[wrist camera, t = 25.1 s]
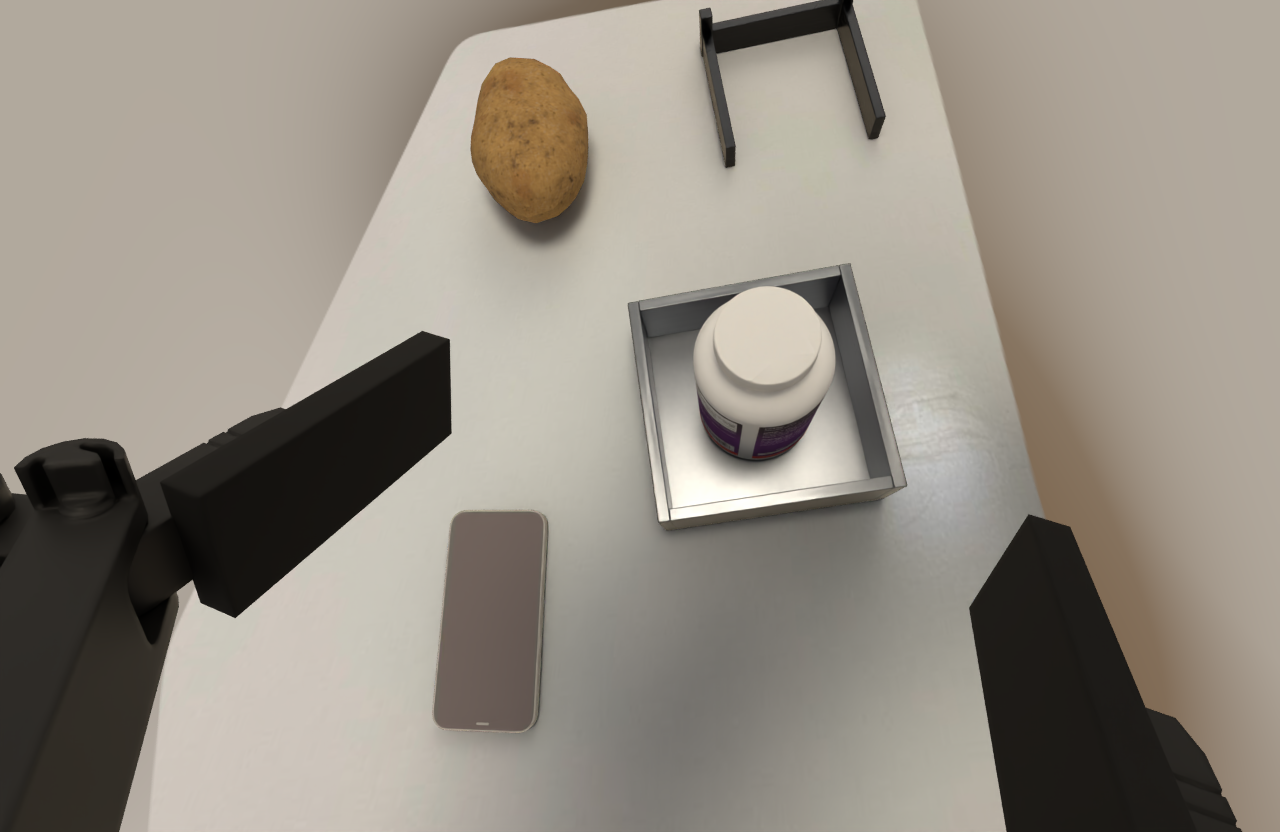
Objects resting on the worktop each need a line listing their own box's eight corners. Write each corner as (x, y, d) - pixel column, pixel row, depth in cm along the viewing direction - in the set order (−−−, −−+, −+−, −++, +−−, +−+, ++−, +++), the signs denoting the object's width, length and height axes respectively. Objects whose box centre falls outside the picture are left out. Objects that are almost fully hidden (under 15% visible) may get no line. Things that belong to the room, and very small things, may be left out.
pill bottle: (816, 366, 46) (858, 272, 32) (802, 471, 44) (840, 419, 30) (708, 351, 47) (704, 254, 33) (690, 452, 45) (677, 394, 32)
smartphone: (546, 509, 46) (534, 733, 41) (549, 511, 46) (538, 730, 42) (450, 510, 46) (429, 729, 42) (455, 511, 47) (435, 726, 43)
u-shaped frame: (844, 18, 55) (854, -25, 51) (879, 137, 51) (892, 101, 48) (700, 48, 56) (698, 9, 52) (724, 168, 52) (724, 135, 49)
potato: (496, 259, 53) (458, 204, 45) (487, 124, 57) (450, 52, 49) (607, 239, 52) (588, 179, 44) (590, 103, 56) (570, 27, 48)
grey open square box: (834, 301, 48) (850, 262, 42) (883, 499, 44) (907, 485, 38) (638, 335, 49) (627, 302, 44) (666, 531, 45) (658, 523, 39)
